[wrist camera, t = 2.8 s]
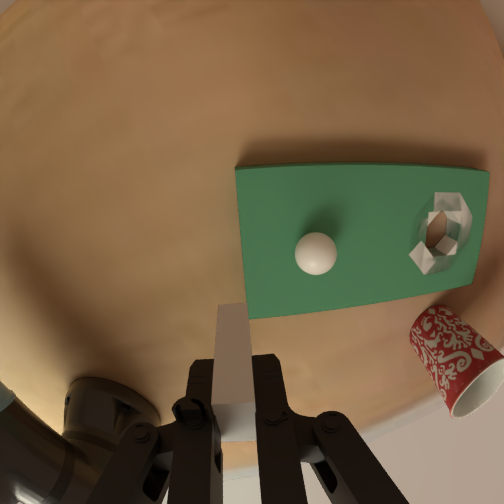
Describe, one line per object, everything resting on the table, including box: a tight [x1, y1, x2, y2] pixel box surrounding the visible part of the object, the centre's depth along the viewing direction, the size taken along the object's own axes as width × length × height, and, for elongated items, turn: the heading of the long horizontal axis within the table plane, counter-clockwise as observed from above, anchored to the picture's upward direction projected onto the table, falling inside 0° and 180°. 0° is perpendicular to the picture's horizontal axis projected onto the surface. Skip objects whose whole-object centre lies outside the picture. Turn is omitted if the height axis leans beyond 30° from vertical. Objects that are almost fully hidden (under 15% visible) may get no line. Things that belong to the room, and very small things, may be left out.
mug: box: [410, 305, 504, 419], centre depth 28 cm, size 13×9×14 cm
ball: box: [295, 232, 337, 275], centre depth 24 cm, size 4×4×4 cm
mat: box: [235, 162, 490, 319], centre depth 27 cm, size 28×14×2 cm, turn 94°
